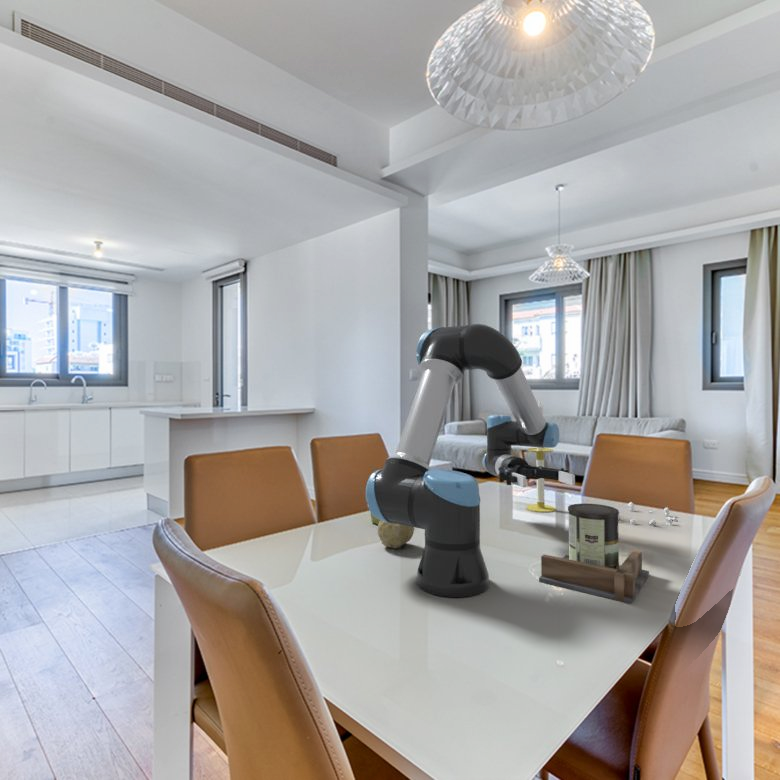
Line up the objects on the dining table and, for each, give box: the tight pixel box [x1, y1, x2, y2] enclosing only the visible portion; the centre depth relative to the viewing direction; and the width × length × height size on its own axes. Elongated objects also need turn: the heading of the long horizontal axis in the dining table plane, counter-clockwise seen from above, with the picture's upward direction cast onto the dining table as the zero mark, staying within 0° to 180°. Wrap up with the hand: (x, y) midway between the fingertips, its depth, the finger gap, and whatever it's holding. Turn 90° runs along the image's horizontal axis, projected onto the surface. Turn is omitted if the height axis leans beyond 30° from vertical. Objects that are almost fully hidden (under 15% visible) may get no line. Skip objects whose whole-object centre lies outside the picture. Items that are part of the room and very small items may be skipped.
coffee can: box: [567, 502, 620, 569], centre depth 105 cm, size 10×10×14 cm
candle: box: [525, 399, 557, 514], centre depth 165 cm, size 10×10×38 cm
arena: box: [538, 548, 650, 605], centre depth 105 cm, size 18×18×5 cm
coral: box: [377, 520, 415, 549], centre depth 128 cm, size 10×10×10 cm
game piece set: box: [609, 501, 678, 526], centre depth 152 cm, size 19×20×4 cm
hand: (549, 481), depth 123 cm, fingers open, 13 cm apart
